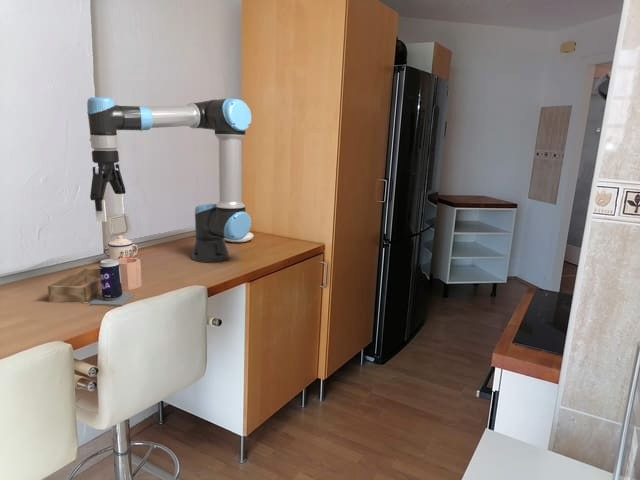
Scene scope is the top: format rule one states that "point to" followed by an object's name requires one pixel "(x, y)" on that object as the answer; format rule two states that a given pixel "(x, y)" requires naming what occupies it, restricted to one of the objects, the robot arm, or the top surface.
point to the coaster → (117, 302)
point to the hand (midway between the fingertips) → (111, 217)
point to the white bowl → (246, 238)
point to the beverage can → (110, 279)
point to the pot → (130, 273)
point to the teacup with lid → (121, 248)
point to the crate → (76, 287)
